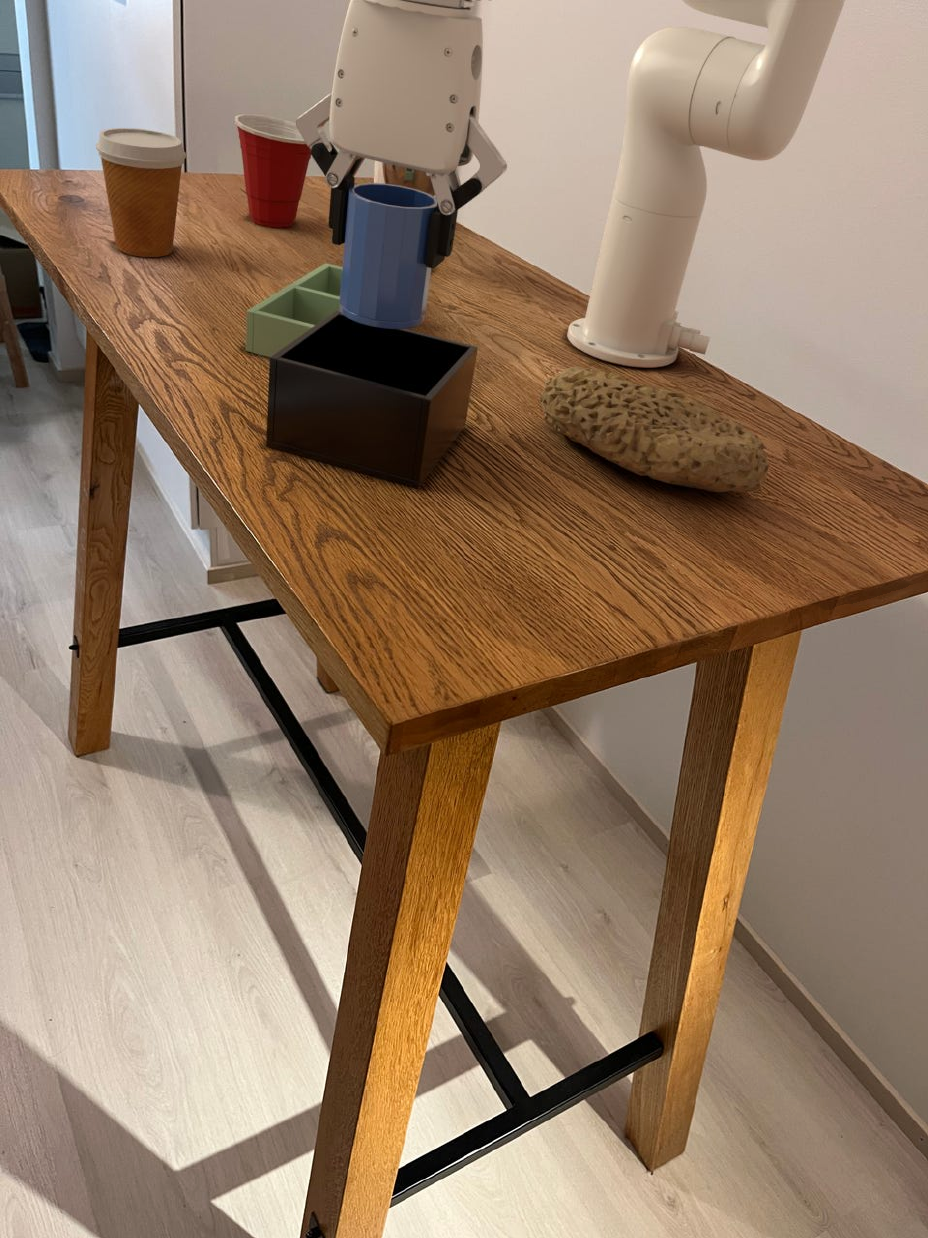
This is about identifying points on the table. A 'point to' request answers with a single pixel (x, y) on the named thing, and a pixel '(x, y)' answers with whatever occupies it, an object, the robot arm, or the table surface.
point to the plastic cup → (272, 168)
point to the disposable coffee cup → (142, 188)
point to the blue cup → (386, 255)
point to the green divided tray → (293, 310)
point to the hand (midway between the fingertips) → (388, 250)
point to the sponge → (654, 431)
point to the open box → (369, 398)
